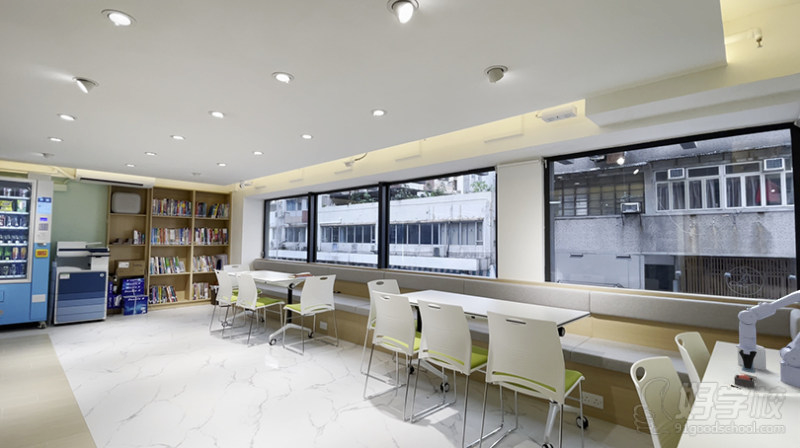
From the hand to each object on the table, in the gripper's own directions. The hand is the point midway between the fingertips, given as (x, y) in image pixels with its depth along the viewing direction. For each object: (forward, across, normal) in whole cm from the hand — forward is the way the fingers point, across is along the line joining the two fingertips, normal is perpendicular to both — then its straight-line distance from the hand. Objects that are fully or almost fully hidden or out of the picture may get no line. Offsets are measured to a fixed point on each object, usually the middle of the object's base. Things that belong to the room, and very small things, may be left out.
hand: (748, 367), depth 171 cm
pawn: (+2, 0, 0) cm, 2 cm away
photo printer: (+5, -20, 0) cm, 21 cm away
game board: (+5, +9, 0) cm, 10 cm away
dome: (+3, +18, 0) cm, 19 cm away
